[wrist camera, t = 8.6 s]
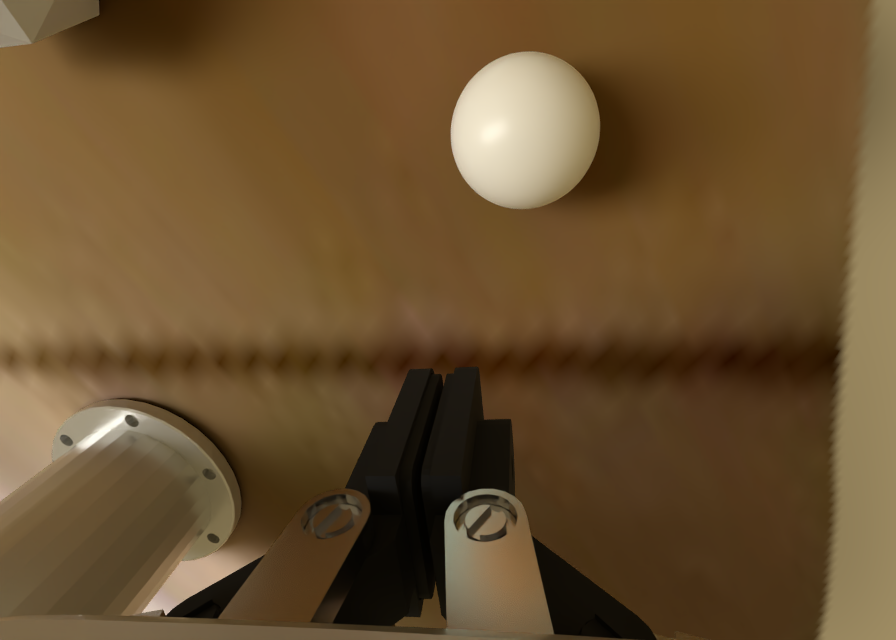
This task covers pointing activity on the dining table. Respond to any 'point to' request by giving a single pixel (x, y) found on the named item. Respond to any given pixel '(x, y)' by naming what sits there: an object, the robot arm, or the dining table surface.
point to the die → (41, 18)
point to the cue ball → (525, 130)
